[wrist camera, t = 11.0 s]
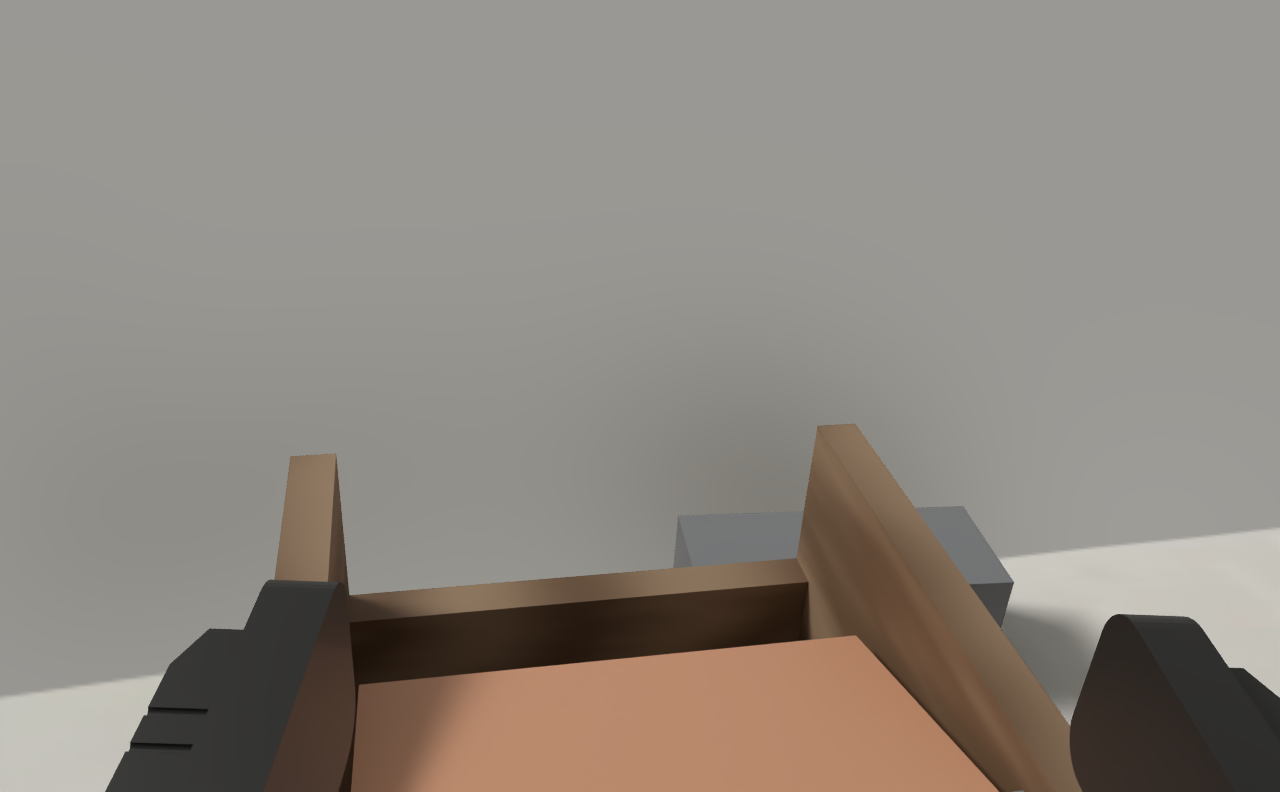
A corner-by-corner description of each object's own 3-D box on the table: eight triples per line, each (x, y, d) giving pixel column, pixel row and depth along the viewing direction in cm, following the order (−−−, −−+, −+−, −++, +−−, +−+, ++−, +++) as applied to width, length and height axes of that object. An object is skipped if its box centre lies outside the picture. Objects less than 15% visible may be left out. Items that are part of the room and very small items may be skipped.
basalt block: (985, 678, 40) (689, 695, 38) (940, 598, 44) (669, 610, 42) (1014, 582, 38) (700, 596, 36) (963, 506, 42) (678, 515, 40)
